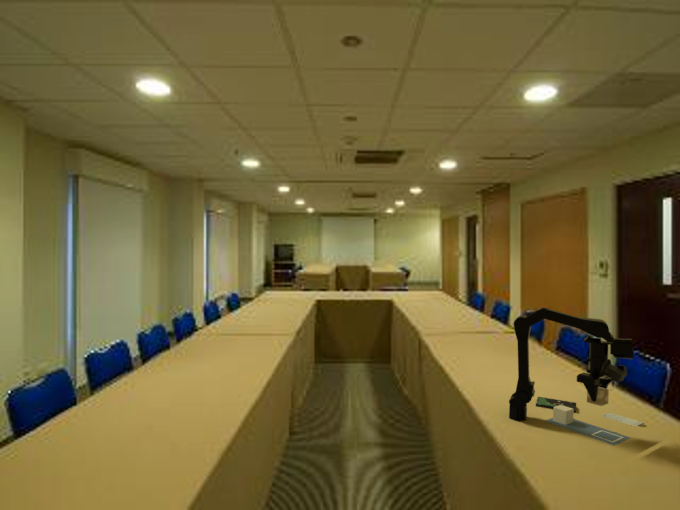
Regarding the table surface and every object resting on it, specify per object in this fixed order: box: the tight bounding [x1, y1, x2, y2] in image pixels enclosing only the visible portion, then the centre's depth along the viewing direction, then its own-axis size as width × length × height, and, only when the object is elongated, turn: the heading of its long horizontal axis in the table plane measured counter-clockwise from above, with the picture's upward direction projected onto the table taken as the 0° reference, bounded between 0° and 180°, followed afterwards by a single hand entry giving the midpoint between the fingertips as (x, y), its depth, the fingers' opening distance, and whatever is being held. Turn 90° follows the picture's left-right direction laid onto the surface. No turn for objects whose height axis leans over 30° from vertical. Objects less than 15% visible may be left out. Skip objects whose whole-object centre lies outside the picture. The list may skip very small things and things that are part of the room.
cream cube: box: [552, 405, 574, 425], centre depth 178 cm, size 5×5×5 cm
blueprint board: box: [544, 417, 632, 447], centre depth 171 cm, size 12×25×1 cm, turn 35°
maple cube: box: [586, 387, 610, 407], centre depth 168 cm, size 5×5×5 cm
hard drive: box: [601, 412, 645, 427], centre depth 182 cm, size 2×8×12 cm
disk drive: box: [535, 396, 577, 414], centre depth 195 cm, size 10×3×15 cm
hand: (597, 399), depth 168 cm, fingers closed on maple cube, 5 cm apart
